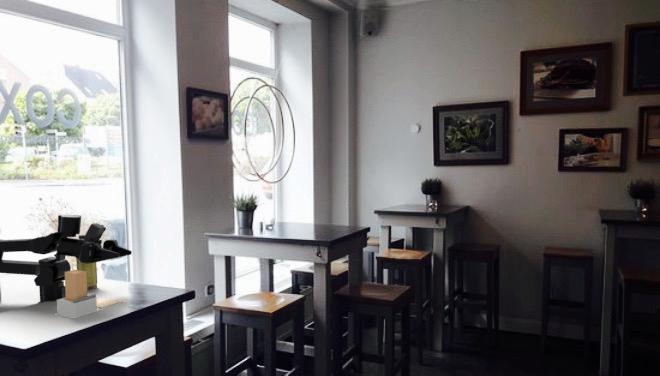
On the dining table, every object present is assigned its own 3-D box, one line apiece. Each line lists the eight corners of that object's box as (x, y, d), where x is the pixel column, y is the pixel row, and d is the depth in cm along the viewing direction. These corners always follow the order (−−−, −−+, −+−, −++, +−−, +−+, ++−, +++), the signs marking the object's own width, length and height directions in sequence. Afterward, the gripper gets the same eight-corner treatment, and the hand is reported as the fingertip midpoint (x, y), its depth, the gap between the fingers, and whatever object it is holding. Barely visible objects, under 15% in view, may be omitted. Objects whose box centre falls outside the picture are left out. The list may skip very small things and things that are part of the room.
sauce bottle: (82, 287, 178) (80, 232, 177) (100, 286, 178) (98, 232, 177) (74, 292, 171) (72, 235, 170) (93, 291, 172) (90, 235, 171)
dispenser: (53, 317, 143) (52, 297, 143) (106, 301, 159) (106, 283, 159) (73, 321, 139) (72, 301, 139) (126, 304, 155) (125, 286, 154)
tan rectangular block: (66, 312, 144) (64, 272, 144) (77, 309, 147) (75, 269, 147) (77, 314, 142) (75, 273, 142) (87, 311, 145) (86, 271, 144)
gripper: (65, 223, 149) (115, 230, 149) (95, 222, 168) (140, 228, 167) (59, 260, 148) (110, 266, 148) (90, 255, 167) (136, 260, 167)
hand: (125, 254), depth 158 cm, fingers open, 9 cm apart
